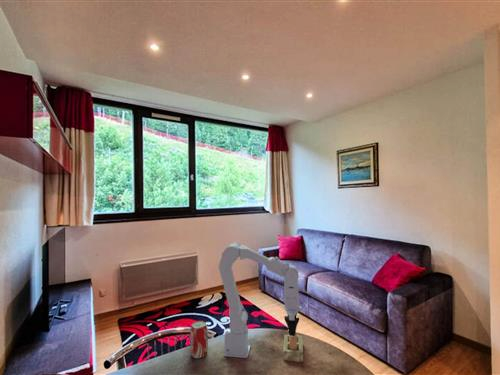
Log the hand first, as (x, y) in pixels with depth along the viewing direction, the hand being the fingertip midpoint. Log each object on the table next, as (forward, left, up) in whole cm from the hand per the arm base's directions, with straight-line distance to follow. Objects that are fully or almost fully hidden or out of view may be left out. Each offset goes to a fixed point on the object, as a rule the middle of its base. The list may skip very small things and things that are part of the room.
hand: (292, 330), depth 100 cm
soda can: (-38, -4, -10) cm, 39 cm away
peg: (0, 0, -10) cm, 10 cm away
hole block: (0, +3, -10) cm, 10 cm away
